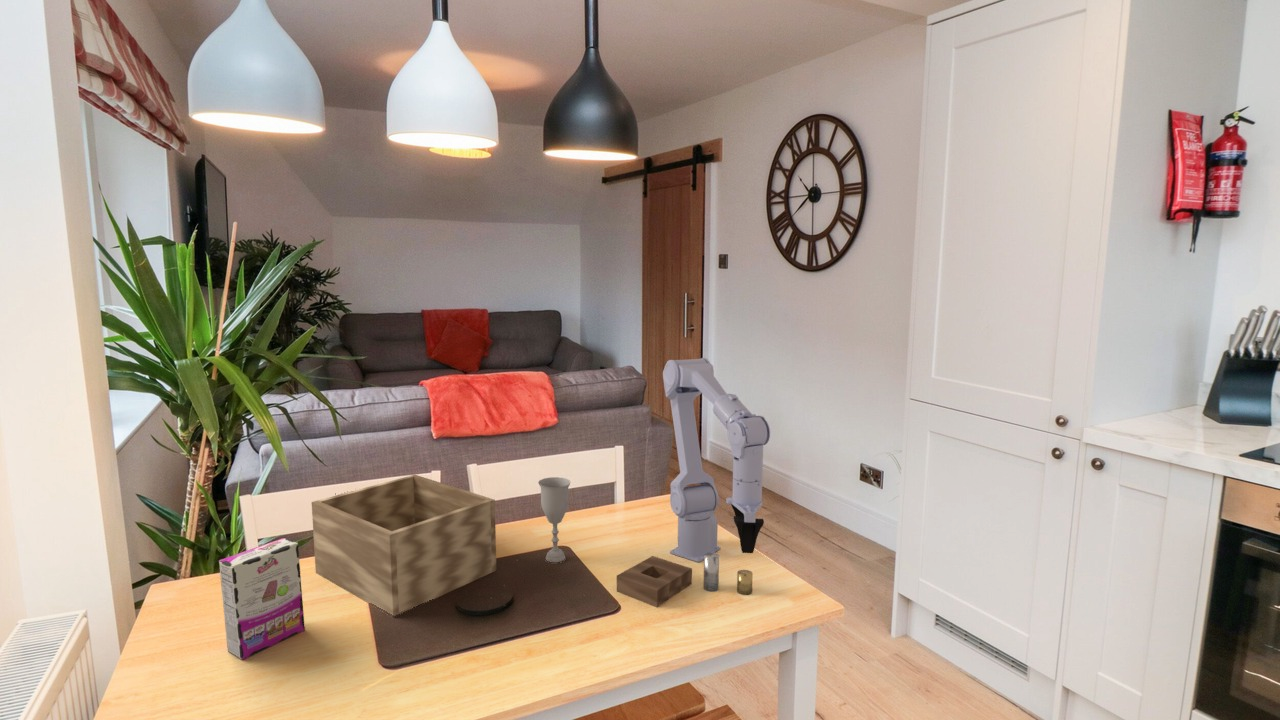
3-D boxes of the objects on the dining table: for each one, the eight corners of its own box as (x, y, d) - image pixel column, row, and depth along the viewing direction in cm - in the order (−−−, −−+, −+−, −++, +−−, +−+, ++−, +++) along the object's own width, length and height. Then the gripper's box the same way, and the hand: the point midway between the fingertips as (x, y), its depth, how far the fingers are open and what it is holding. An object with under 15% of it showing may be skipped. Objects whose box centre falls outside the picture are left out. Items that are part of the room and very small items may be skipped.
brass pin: (741, 587, 136) (742, 568, 136) (754, 591, 135) (755, 572, 134) (734, 592, 134) (734, 573, 134) (747, 597, 132) (748, 577, 132)
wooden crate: (417, 539, 160) (414, 474, 158) (496, 572, 142) (494, 499, 140) (315, 575, 140) (311, 502, 138) (393, 618, 123) (389, 535, 121)
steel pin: (708, 583, 138) (709, 551, 137) (721, 588, 136) (721, 555, 135) (700, 589, 135) (701, 556, 134) (713, 593, 133) (714, 560, 133)
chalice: (578, 561, 148) (577, 482, 146) (554, 570, 143) (553, 489, 141) (556, 551, 153) (555, 475, 151) (532, 560, 148) (531, 482, 146)
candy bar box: (289, 623, 121) (283, 536, 119) (305, 631, 119) (300, 542, 117) (224, 652, 112) (217, 558, 110) (240, 661, 109) (233, 565, 107)
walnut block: (652, 571, 143) (652, 555, 143) (691, 584, 137) (691, 568, 137) (616, 592, 134) (616, 575, 133) (657, 607, 128) (657, 590, 127)
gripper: (725, 466, 139) (723, 529, 140) (729, 489, 124) (727, 559, 126) (759, 467, 138) (757, 531, 140) (767, 490, 124) (765, 560, 126)
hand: (745, 544), depth 133 cm, fingers open, 7 cm apart
